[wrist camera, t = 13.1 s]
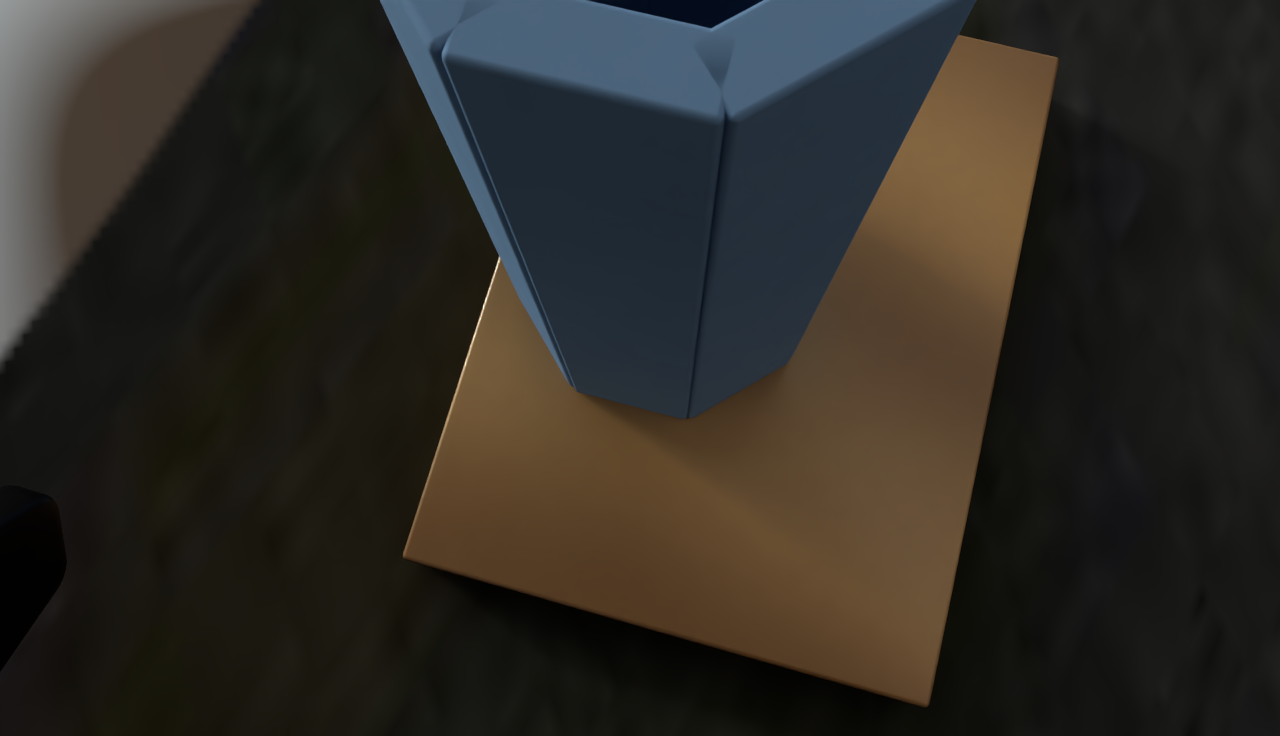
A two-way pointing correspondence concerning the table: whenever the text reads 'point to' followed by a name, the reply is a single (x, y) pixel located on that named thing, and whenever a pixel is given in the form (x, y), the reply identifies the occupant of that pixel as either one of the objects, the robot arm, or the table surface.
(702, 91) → the sleeve
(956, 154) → the base
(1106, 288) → the table surface
